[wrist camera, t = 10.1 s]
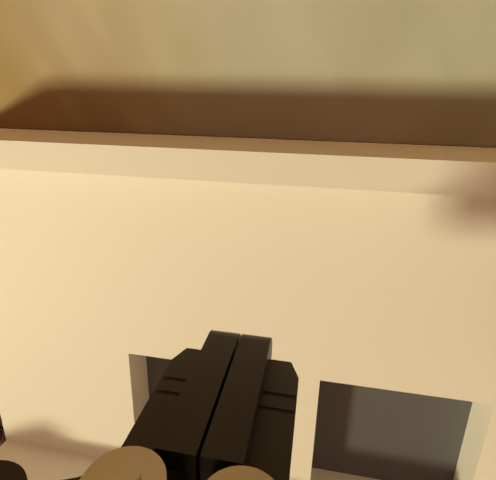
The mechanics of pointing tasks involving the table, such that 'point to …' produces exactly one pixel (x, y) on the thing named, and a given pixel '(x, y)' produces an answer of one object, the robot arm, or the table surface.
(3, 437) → the flask
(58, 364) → the track
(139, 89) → the table surface
